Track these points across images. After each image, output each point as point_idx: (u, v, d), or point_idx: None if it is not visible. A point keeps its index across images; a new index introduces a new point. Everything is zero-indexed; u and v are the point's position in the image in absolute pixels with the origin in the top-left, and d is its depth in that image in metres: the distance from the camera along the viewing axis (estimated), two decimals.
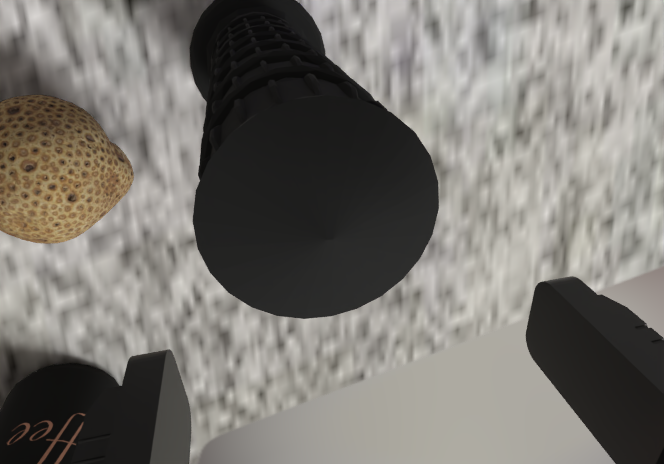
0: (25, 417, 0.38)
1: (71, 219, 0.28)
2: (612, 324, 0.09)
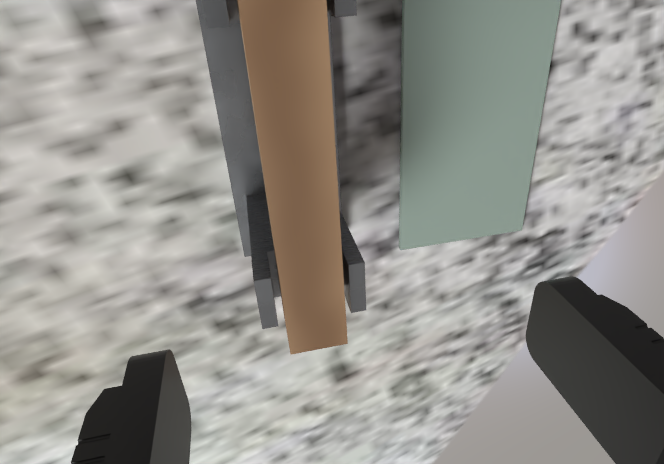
0: None
1: None
2: (612, 324, 0.09)
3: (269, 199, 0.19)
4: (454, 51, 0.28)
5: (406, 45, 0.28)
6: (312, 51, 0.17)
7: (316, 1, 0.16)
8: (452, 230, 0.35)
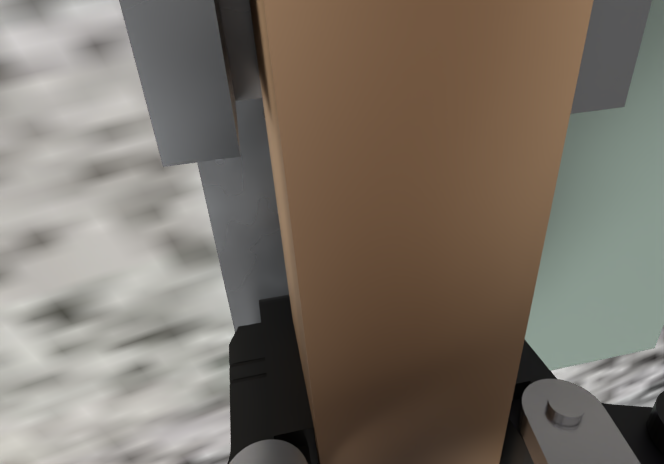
0: None
1: None
2: None
3: None
4: None
5: None
6: (498, 225, 0.05)
7: (545, 79, 0.05)
8: (559, 355, 0.24)
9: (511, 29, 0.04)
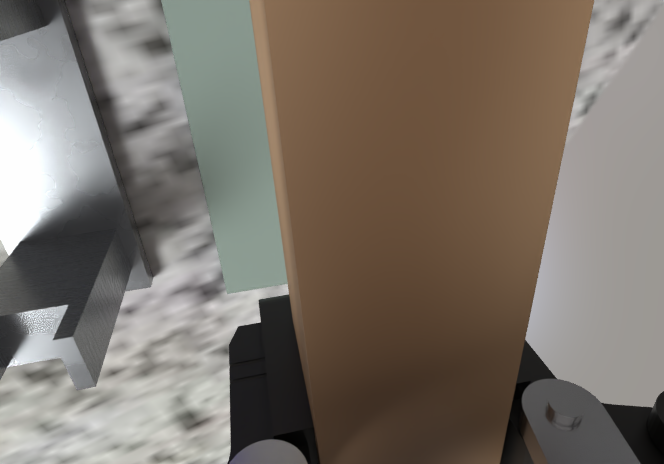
0: None
1: None
2: None
3: None
4: (242, 80, 0.25)
5: (181, 75, 0.24)
6: (498, 229, 0.05)
7: (545, 84, 0.05)
8: (284, 272, 0.32)
9: (511, 34, 0.04)
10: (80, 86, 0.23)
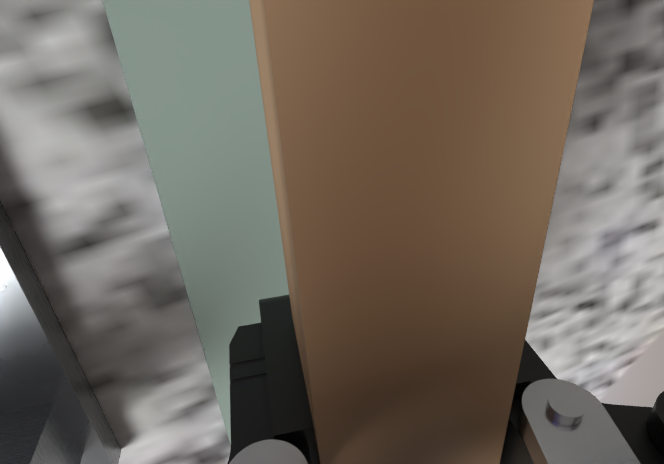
0: None
1: None
2: None
3: None
4: (265, 166, 0.14)
5: (154, 162, 0.14)
6: (498, 229, 0.05)
7: (545, 84, 0.05)
8: None
9: (511, 35, 0.04)
10: None
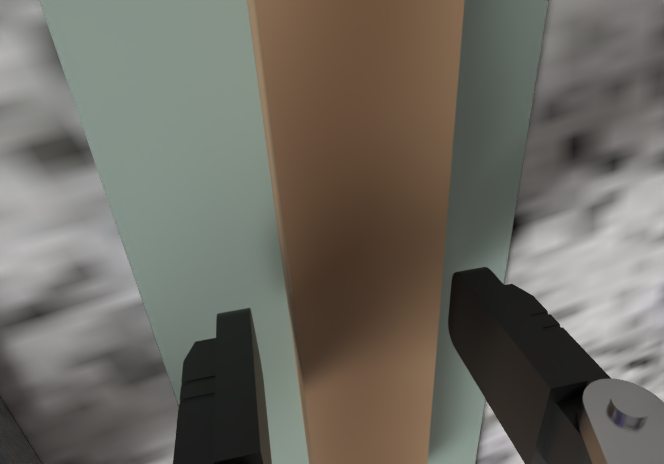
0: None
1: None
2: (509, 310, 0.09)
3: (309, 402, 0.10)
4: (264, 218, 0.11)
5: (121, 216, 0.10)
6: (417, 146, 0.08)
7: (439, 42, 0.07)
8: None
9: (412, 8, 0.07)
10: None
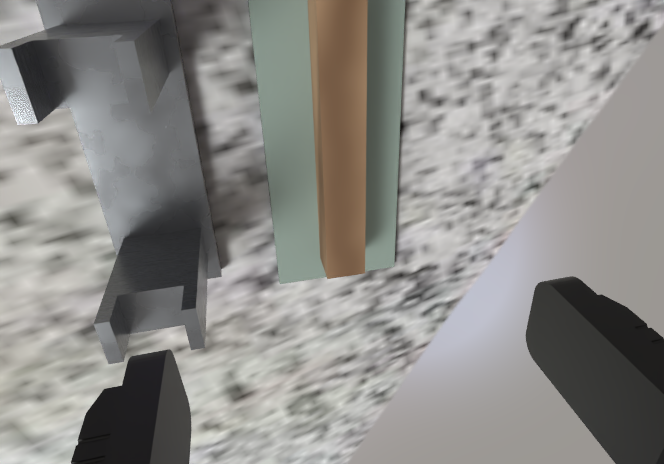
0: None
1: None
2: (612, 324, 0.09)
3: (324, 171, 0.31)
4: (309, 114, 0.32)
5: (262, 109, 0.31)
6: (356, 83, 0.29)
7: (361, 55, 0.28)
8: None
9: (354, 47, 0.28)
10: (188, 117, 0.30)
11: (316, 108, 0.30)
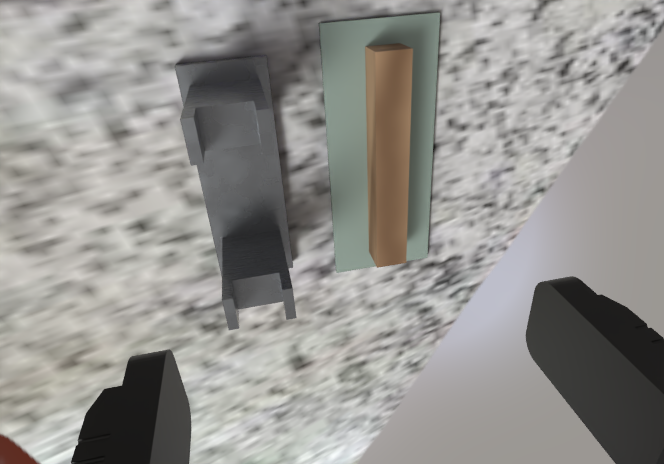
0: None
1: None
2: (612, 324, 0.09)
3: (377, 184, 0.41)
4: (363, 140, 0.42)
5: (329, 138, 0.41)
6: (403, 119, 0.38)
7: (407, 99, 0.38)
8: None
9: (402, 94, 0.37)
10: (275, 147, 0.40)
11: (371, 137, 0.40)
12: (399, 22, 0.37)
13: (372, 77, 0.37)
